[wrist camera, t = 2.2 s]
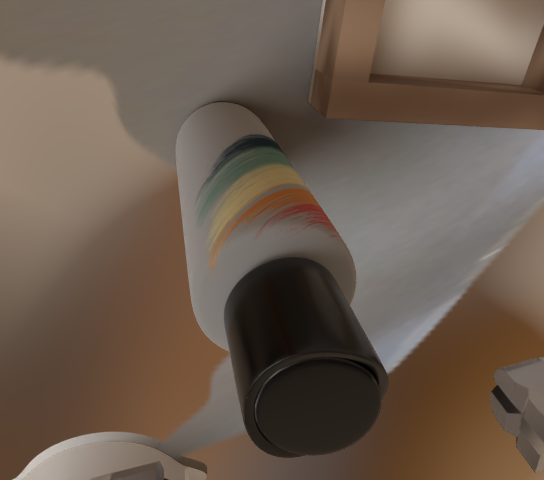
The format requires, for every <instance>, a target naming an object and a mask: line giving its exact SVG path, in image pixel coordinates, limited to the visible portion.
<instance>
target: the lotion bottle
mask: <svg viewBox="0 0 544 480" xmlns="http://www.w3.org/2000/svg"><path fill="white" fill-rule="evenodd" d="M176 164H177V174H178V183H179V193H180V203H181V212H182V221H183V230H184V240H185V250H186V259H187V268H188V277H189V286H190V294H191V301H192V306H193V311H194V314H195V316H196V319H197V321H198V323H199V325H200V327H201V329H202V330H203V332H204V333H205V334H206V335H207V337H208V338H209V339H211V340H212V341H213V342H214V343H216V344H217V345H218V346H220V347H222V348H223V349H225V350H228V351H230V356H231V362H232V367H233V372H234V377H235V382H236V387H237V392H238V397H239V402H240V407H241V412H242V417H243V421H244V424H245V428H246V430H247V433H248V435H249V436H250V438H251V439H252V441H253V442H254V443H255V444H256V445H257V446H258V447H259V448H260V449H261V450H263V451H264V452H266V453H268V454H271V455H273V456H277V457H284V458H293V457H300V456H305V455H324V454H329V453H333V452H336V451H340V450H342V449H345V448H347V447H349V446H351V445H352V444H354V443H356V442H357V441H358V440H360V439H361V438H362V437H363V436H365V435H366V434H367V433H368V431H369V430H370V429H371V428H372V427H373V425H374V424H375V422H376V420H377V418H378V416H379V413H380V408H381V400H382V399H383V397H384V395H385V393H386V391H387V387H388V376H387V373H386V371H385V369H384V367H383V365H382V363H381V361H380V359H379V357H378V356H377V354H376V352H375V350H374V348H373V347H372V345H371V343H370V341H369V339H368V337H367V336H366V334H365V332H364V330H363V328H362V327H361V325H360V323H359V321H358V319H357V318H356V316H355V314H354V312H353V310H352V308H351V307H350V304H351V302H352V299H353V296H354V292H355V287H356V270H355V265H354V262H353V259H352V256H351V254H350V252H349V250H348V248H347V246H346V244H345V243H344V241H343V240H342V238H341V237H340V235H339V233H338V232H337V230H336V229H335V227H334V226H333V224H332V223H331V222H330V220H329V219H328V217H327V216H326V214H325V213H324V211H323V210H322V208H321V207H320V205H319V204H318V202H317V201H316V200H315V198H314V197H313V195H312V194H311V192H310V191H309V189H308V188H307V186H306V185H305V183H304V182H303V181H302V179H301V178H300V176H299V175H298V173H297V172H296V170H295V169H294V167H293V166H292V165H291V163H290V162H289V160H288V159H287V157H286V156H285V154H284V153H283V151H282V150H281V148H280V147H279V146H278V144H277V143H276V141H275V140H274V138H273V137H272V135H271V134H270V132H269V131H268V130H267V128H266V127H265V125H264V124H263V123H262V122H261V120H260V119H259V118H258V117H257V116H256V115H255V114H254V113H252V112H251V111H250V110H248V109H247V108H245V107H243V106H240V105H238V104H234V103H229V102H217V103H212V104H208V105H205V106H203V107H201V108H199V109H197V110H196V111H195V112H193V113H192V114H191V115H190V116H189V117H188V118H187V119H186V120H185V122H184V123H183V125H182V127H181V128H180V131H179V133H178V136H177V141H176Z"/></svg>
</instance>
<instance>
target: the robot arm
mask: <svg viewBox="0 0 544 480" xmlns="http://www.w3.org/2000/svg"><path fill="white" fill-rule="evenodd" d="M494 380H495V382H496V383H497V384H498V385H497V386H496V387H495V388H494V389H493V390H492V391H491V398H490V403H491V406H492V410H493V413H494V415H495V417H496V419H497V421H498V422H499V424H500V425H501V427H502V428H503V429H504V430H505V431H506V432H508V433H511V434H512V435H514V436H516V447H517V449H518V450H519V451H520V453H521V454H522V456H523V457H524V458H525V460H526V461H527V462H528V464H529V465H530V466H531V468H532V469H533V470H534V472H535V473H536V472H540V471H544V357H541V358H537V359H531V360H528V361H524V362H521V363H517V364H514V365H510V366H507V367H503V368H500V369H498V370H497V371H496V372H495V375H494ZM162 443H163V442H161V441H159V440H157V439H155V438H152V437H149V436H145V435H141V434H136V433H128V432H101V433H92V434H87V435H82V436H78V437H74V438H71V439H68V440H65V441H63V442H60V443H58V444H56V445H54V446H52V447H50V448H48V449H46V450H45V451H43V452H42V453H40V454H39V455H38V456H37V457H35V458H34V459H33V460H32V461H31V462H30V463H29V464H28V465H27V466H26V468H25V469H24V470H23V471H22V472H21V474H20V475H19V476H17V477H16V478H15V479H13V480H206V479H207V466H206V465H205V464H204V463H202V462H200V461H197V460H194V459H190V458H186V457H183V456H181V457H178V458H175V459H173V458H171V457H170V456H168V455H167V454H165V453H163V452H161V451H159V450H157V449H156V448H158V447H159V446H160V445H161V444H162Z"/></svg>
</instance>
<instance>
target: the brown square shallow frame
mask: <svg viewBox="0 0 544 480" xmlns="http://www.w3.org/2000/svg"><path fill="white" fill-rule="evenodd" d="M308 103H310V104H311V105H312V106H313V107H314V108H315V109H316V110H317V111H319V112H320V113H321V114H322V115H323V116H324V117H325V118H330V119H349V120H367V121H386V122H405V123H424V124H443V125H461V126H480V127H499V128H518V129H537V130H544V0H323V2H322V9H321V16H320V23H319V30H318V37H317V44H316V51H315V57H314V64H313V71H312V78H311V85H310V92H309V99H308Z"/></svg>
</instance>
